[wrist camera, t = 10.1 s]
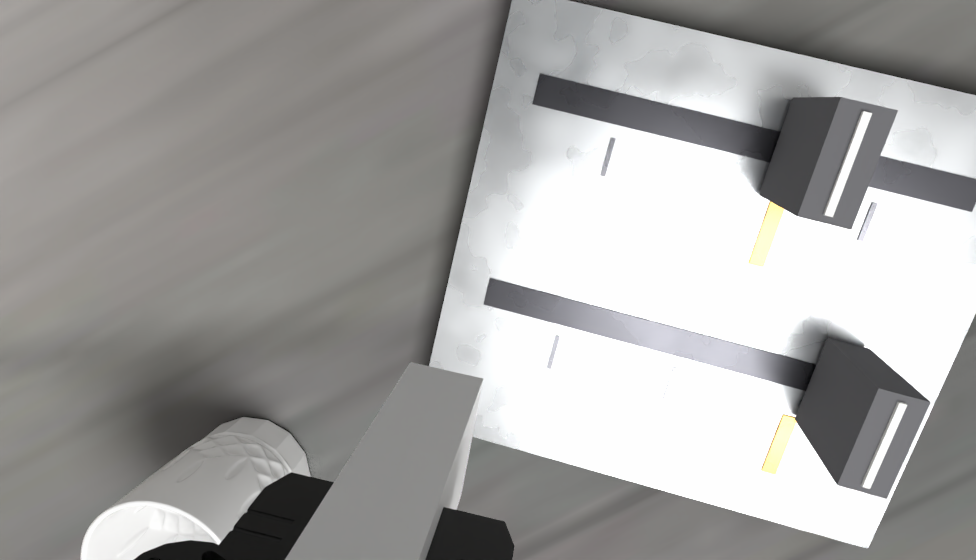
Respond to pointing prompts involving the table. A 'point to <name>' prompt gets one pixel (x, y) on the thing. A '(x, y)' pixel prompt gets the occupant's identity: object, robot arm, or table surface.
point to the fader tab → (860, 417)
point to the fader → (826, 158)
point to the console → (694, 260)
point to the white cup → (197, 491)
